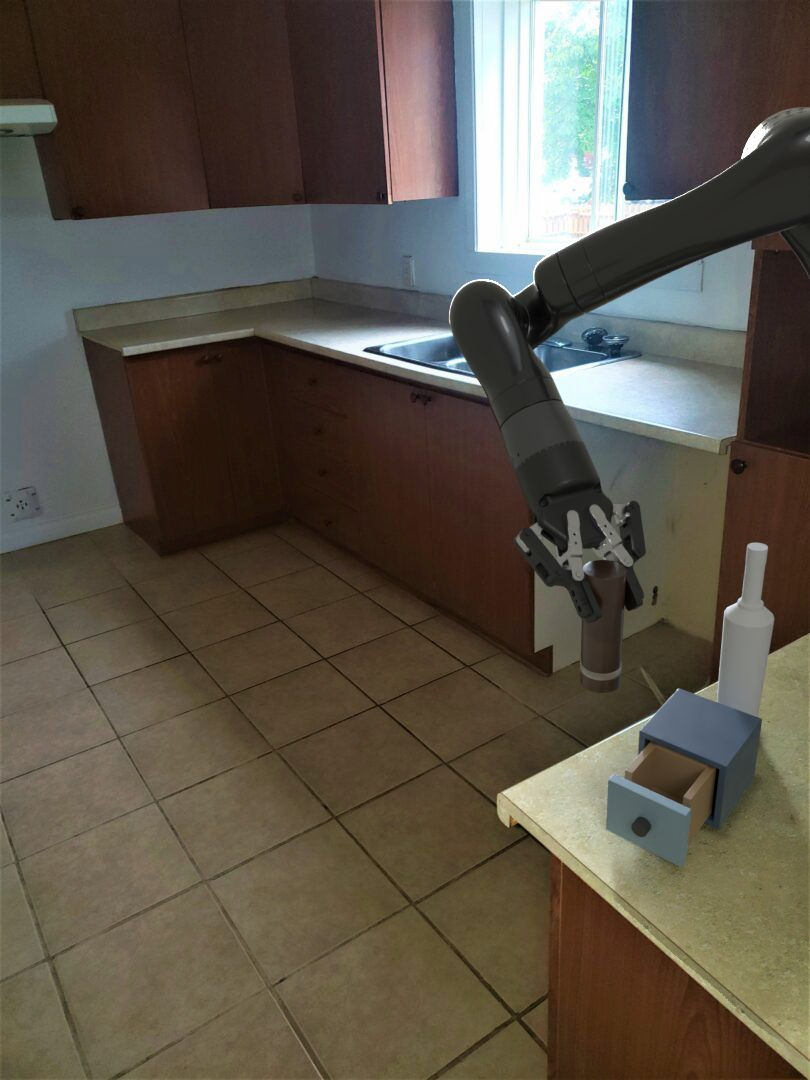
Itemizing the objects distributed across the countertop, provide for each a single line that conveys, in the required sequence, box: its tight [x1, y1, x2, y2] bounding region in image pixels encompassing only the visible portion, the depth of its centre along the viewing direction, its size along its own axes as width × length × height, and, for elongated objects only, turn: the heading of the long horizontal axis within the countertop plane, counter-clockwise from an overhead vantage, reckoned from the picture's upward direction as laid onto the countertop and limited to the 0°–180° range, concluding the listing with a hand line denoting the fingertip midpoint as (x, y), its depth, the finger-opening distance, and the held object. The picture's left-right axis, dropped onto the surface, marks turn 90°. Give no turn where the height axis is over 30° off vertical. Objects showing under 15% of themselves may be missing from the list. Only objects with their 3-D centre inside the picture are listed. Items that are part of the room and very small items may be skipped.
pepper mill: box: [579, 559, 626, 694], centre depth 80 cm, size 4×4×13 cm
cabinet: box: [637, 687, 763, 831], centre depth 89 cm, size 9×9×8 cm
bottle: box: [716, 542, 775, 718], centre depth 92 cm, size 5×5×25 cm
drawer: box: [605, 741, 716, 868], centre depth 83 cm, size 10×8×7 cm
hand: (615, 613), depth 78 cm, fingers closed on pepper mill, 4 cm apart
